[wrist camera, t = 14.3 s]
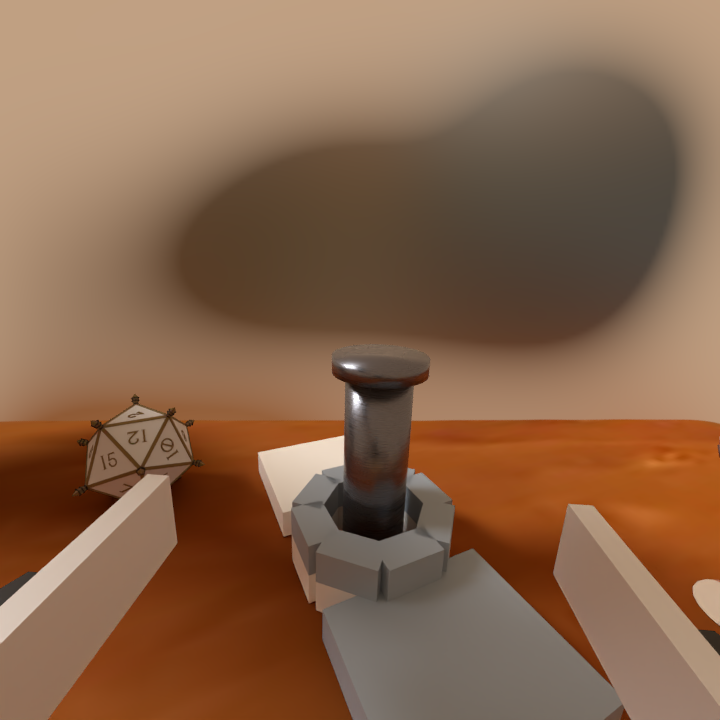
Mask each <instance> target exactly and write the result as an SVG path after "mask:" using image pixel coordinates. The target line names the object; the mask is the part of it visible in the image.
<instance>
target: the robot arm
mask: <svg viewBox="0 0 720 720" xmlns="http://www.w3.org/2000/svg"><path fill="white" fill-rule="evenodd" d="M176 544H177V535H176V527H175V519H174V511H173V502H172V494H171V486H170V478H169V476H167V475H153V474H147V475H146V476H145V477H144V478H142V479H141V480H140V481H139V482H138V483H137V484H136V485H135V486H134V487H132V488H131V489H130V490H129V491H128V492H127V493H126V494H125V495H124V496H122V497H121V498H120V499H119V500H118V501H117V502H116V503H115V504H114V505H112V506H111V507H110V508H109V509H108V510H107V511H106V512H105V513H104V514H102V515H101V516H100V517H99V518H98V519H97V520H96V521H95V522H94V523H92V524H91V525H90V526H89V527H88V528H87V529H86V530H85V531H84V532H82V533H81V534H80V535H79V536H78V537H77V538H76V539H75V540H74V541H72V542H71V543H70V544H69V545H68V546H67V547H66V548H65V549H64V550H62V551H61V552H60V553H59V554H58V555H57V556H56V557H55V558H53V559H52V560H51V561H50V562H49V563H48V564H47V565H46V566H45V567H43V568H42V569H41V570H40V571H39V572H38V573H37V572H27V573H26V574H24V575H22V576H21V577H19V578H17V579H15V580H14V581H12V582H10V583H9V584H7V585H5V586H4V587H2V588H0V720H48V718H49V717H50V716H51V714H52V713H53V712H54V710H55V709H56V707H57V706H58V705H59V703H60V702H61V701H62V699H63V698H64V697H65V695H66V694H67V692H68V691H69V690H70V688H71V687H72V686H73V684H74V683H75V682H76V680H77V679H78V678H79V676H80V675H81V673H82V672H83V671H84V669H85V668H86V667H87V665H88V664H89V663H90V661H91V660H92V659H93V657H94V656H95V654H96V653H97V652H98V650H99V649H100V648H101V646H102V645H103V644H104V642H105V641H106V639H107V638H108V637H109V635H110V634H111V633H112V631H113V630H114V629H115V627H116V626H117V625H118V623H119V622H120V620H121V619H122V618H123V616H124V615H125V614H126V612H127V611H128V610H129V608H130V607H131V605H132V604H133V603H134V601H135V600H136V599H137V597H138V596H139V595H140V593H141V592H142V591H143V589H144V588H145V586H146V585H147V584H148V582H149V581H150V580H151V578H152V577H153V576H154V574H155V573H156V571H157V570H158V569H159V567H160V566H161V565H162V563H163V562H164V561H165V559H166V558H167V557H168V555H169V554H170V552H171V551H172V550H173V548H174V547H175V546H176ZM553 575H554V577H555V578H556V580H557V582H558V584H559V586H560V588H561V590H562V592H563V593H564V595H565V597H566V599H567V601H568V603H569V605H570V607H571V609H572V610H573V612H574V614H575V616H576V618H577V620H578V622H579V624H580V625H581V627H582V629H583V631H584V633H585V635H586V637H587V639H588V640H589V642H590V644H591V646H592V648H593V650H594V652H595V654H596V655H597V657H598V659H599V661H600V663H601V665H602V667H603V669H604V670H605V672H606V674H607V676H608V678H609V680H610V682H611V684H612V685H613V687H614V689H615V691H616V693H617V695H618V697H619V699H620V700H621V702H622V704H623V706H624V708H625V710H626V712H627V714H628V715H629V717H630V719H631V720H720V635H719V634H717V633H716V632H715V631H708V630H698V629H697V628H696V627H695V626H694V625H693V624H692V622H691V621H690V620H689V619H688V618H687V616H686V615H685V614H684V613H683V612H682V610H681V609H680V608H679V607H678V606H677V605H676V603H675V602H674V601H673V600H672V599H671V597H670V596H669V595H668V594H667V593H666V592H665V590H664V589H663V588H662V587H661V586H660V584H659V583H658V582H657V581H656V580H655V578H654V577H653V576H652V575H651V574H650V573H649V571H648V570H647V569H646V568H645V567H644V565H643V564H642V563H641V562H640V561H639V560H638V558H637V557H636V556H635V555H634V554H633V552H632V551H631V550H630V549H629V548H628V546H627V545H626V544H625V543H624V542H623V541H622V539H621V538H620V537H619V536H618V535H617V533H616V532H615V531H614V530H613V529H612V528H611V526H610V525H609V524H608V523H607V522H606V520H605V519H604V518H603V517H602V516H601V514H600V513H599V512H598V511H597V510H596V509H595V507H594V506H590V505H576V504H568V507H567V512H566V516H565V521H564V525H563V530H562V535H561V539H560V544H559V548H558V553H557V557H556V562H555V566H554V571H553Z"/></svg>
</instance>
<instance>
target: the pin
mask: <svg viewBox="0 0 720 720" xmlns="http://www.w3.org/2000/svg"><path fill="white" fill-rule="evenodd" d="M429 367H430V357H429V356H428V355H427V354H425V353H423V352H421V351H418V350H415V349H411V348H406V347H400V346H393V345H378V344H369V345H354V346H348V347H343V348H340V349H337V350H335V351H334V352H333V353H332V374H333V375H334V376H335V377H336V378H337V379H339V380H341V381H344V382H345V427H344V474H343V522H342V531H345V532H348V533H352V534H356V535H359V536H363V537H366V538H370V539H374V540H377V541H381V540H384V539H387V538H390V537H393V536H396V535H399V534H401V533H403V525H404V512H405V498H406V484H407V471H408V457H409V444H410V430H411V416H412V403H413V389H414V385H418V384H421V383H423V382H424V381H426V380H427V379H428V377H429Z"/></svg>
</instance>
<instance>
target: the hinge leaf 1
mask: <svg viewBox="0 0 720 720" xmlns="http://www.w3.org/2000/svg"><path fill="white" fill-rule="evenodd" d="M258 461H259V473H260V476H261V478H262V481H263V484H264V486H265V489H266V492H267V494H268V497H269V499H270V502H271V505H272V507H273V510H274V513H275V515H276V518H277V521H278V523H279V526H280V529H281V531H282V534H283V536H284V537H285V536H288V535H291V534H292V526H291V508H292V502H293V500H294V499H295V498H296V497H297V496H298V494H299V493H300V492H301V491H302V490H303V488H304V487H305V486H306V485H307V484H308V482H309V481H310V480H311V479H312V478H313V476H314V475H315V474H320V475H322V470H325V469H329V468H334V467H338V466H342V465H344V436H340V437H335V438H330V439H325V440H319V441H314V442H309V443H304V444H299V445H294V446H289V447H284V448H278V449H273V450H268V451H263V452H258ZM332 519H333V521H334V523H335V525H336V526H337V528H338V530H342V522H343V506H341V507H338V508H337V510H336V511H335V513H334V515H333V516H332ZM416 527H417V524H416V523H415V522H414V521H413V519H412V518H411V517H410V516H409V515H408V514H407V513H406V512H404V525H403V533H404V532H407V531H410V530H413V529H416ZM451 537H452V536H451ZM450 546H451V543H450ZM449 554H450V550H449ZM448 558H449V557H448ZM292 560H293V563H294V565H295V568H296V571H297V573H298V576H299V579H300V581H301V584H302V587H303V589H304V592H305V595H306V597H307V600H308V602H309V603H312V602H314V601H316V610H317V611H320V612H322V613H323V609H325V608H327V607H330V606H332V605H335V604H337V603H340V602H342V601H345V600H347V599H350V598H352V597H355V596H356V595H353V594H350V593H348V592H345V591H342V590H339V589H336V588H333V587H330V586H327V585H324V584H321V583H318V582H316V573H315V574H312V575H308V573H307V570H306V568H305V566H304V563H303V561H302V558H301V556H300V553H299V551H298V548H297V546H296V544H295V541H294V539H293V536H292Z"/></svg>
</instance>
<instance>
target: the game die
mask: <svg viewBox="0 0 720 720" xmlns="http://www.w3.org/2000/svg"><path fill="white" fill-rule="evenodd" d="M138 401H139V397H137V396H136V395H135V394H134V396H133V397H132V402H133V405H132V406H130V407H129V408H128V409H126V410H124V411H123V412H121V413H120V414H118V415H117V416H116V417H114V418H112V419H111V420H109V421H108V422H106V423H104V424H103V425H102V424H101V422H99V420H96V421H91V426H92V427H94V428H96V429H97V428H98V430H97V431H96V432H95V434H94V435H93V436H92V438H91V439H90V440H89V441H88V440H85V439H81V440H78V441H77V442H78V443H79V445H80V446H81V445H82V446H85V445H87V455H86V473H85V485H84V486H83V487H79V488H78V489H75V492H74V494H73V495H72V496H78V495H79V496H80V495H81V494H82V493H84V492H85V491H86V490H91V491H95V492H98V493H101V494H105V495H108V496H111V497H115V498H118V499H120V498H121V497H122V496H124V495H125V494H126V493H127V492H128V491H129V490H130V489H131V488H132V487H134V486H135V485H136V484H137V483H138V482H139V481H140V480H141V479H142V478H144V477H145V476H146V475H147V474H153V475H167V476H169V478H170V486H171V485H172V484H173V483H174V482H175V481H176V480H177V479H179V478H181V475H183V474H184V473H185V472H186V471H187V470H188V469H189V468H190V467H191V466H192V465H195V466H198V467H200V466H203V465H205V464H204V463H203V462H202V461H201V460H194V458H193V453H192V448H191V444H190V439H189V434H188V429H187V427H188V426H191V425H193V422H194V420H189V421H187V422H186V424H185V423H183V422H181V421H179V420H177V419H176V418H174V417H172V416H173V415H174V413H176V411H175V408H171V409H169V411H167V414H166V413H163V412H160V411H157V410H154V409H152V408H148V407H146V406H143V405H140V404H138Z"/></svg>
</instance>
